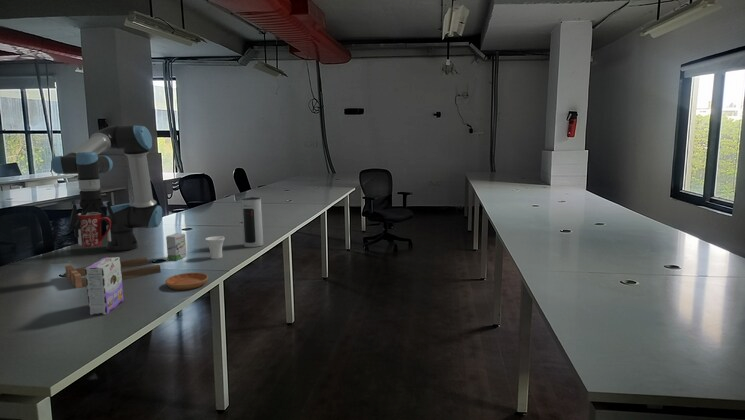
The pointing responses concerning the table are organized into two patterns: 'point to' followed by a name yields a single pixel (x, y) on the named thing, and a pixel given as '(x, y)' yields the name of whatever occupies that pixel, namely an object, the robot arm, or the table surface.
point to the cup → (215, 246)
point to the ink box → (176, 246)
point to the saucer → (186, 281)
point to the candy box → (104, 285)
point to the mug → (92, 229)
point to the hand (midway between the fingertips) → (95, 242)
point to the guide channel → (78, 282)
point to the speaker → (252, 222)
